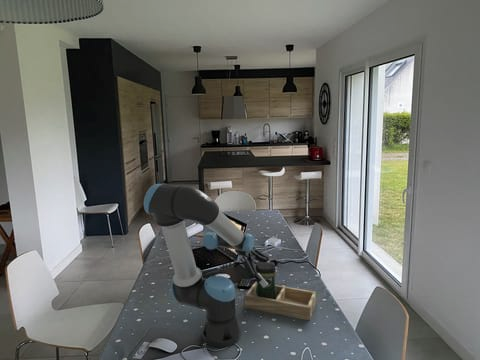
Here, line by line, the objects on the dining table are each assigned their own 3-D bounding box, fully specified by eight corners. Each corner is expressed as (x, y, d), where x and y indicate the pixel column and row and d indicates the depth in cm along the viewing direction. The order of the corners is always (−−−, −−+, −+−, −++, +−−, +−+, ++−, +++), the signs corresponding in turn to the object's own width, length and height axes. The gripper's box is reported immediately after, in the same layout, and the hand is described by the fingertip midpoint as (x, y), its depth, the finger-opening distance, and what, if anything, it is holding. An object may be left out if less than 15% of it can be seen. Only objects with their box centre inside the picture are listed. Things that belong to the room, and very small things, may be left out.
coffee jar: (275, 295, 171) (275, 259, 167) (277, 304, 163) (276, 266, 159) (255, 296, 171) (254, 259, 167) (255, 304, 163) (255, 266, 160)
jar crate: (309, 320, 152) (309, 307, 151) (245, 307, 163) (244, 295, 162) (316, 303, 165) (316, 291, 164) (255, 292, 176) (255, 281, 175)
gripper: (244, 240, 180) (273, 272, 177) (223, 259, 157) (256, 296, 154) (254, 231, 177) (283, 263, 174) (234, 249, 154) (267, 287, 151)
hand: (270, 279), depth 164 cm, fingers open, 13 cm apart
